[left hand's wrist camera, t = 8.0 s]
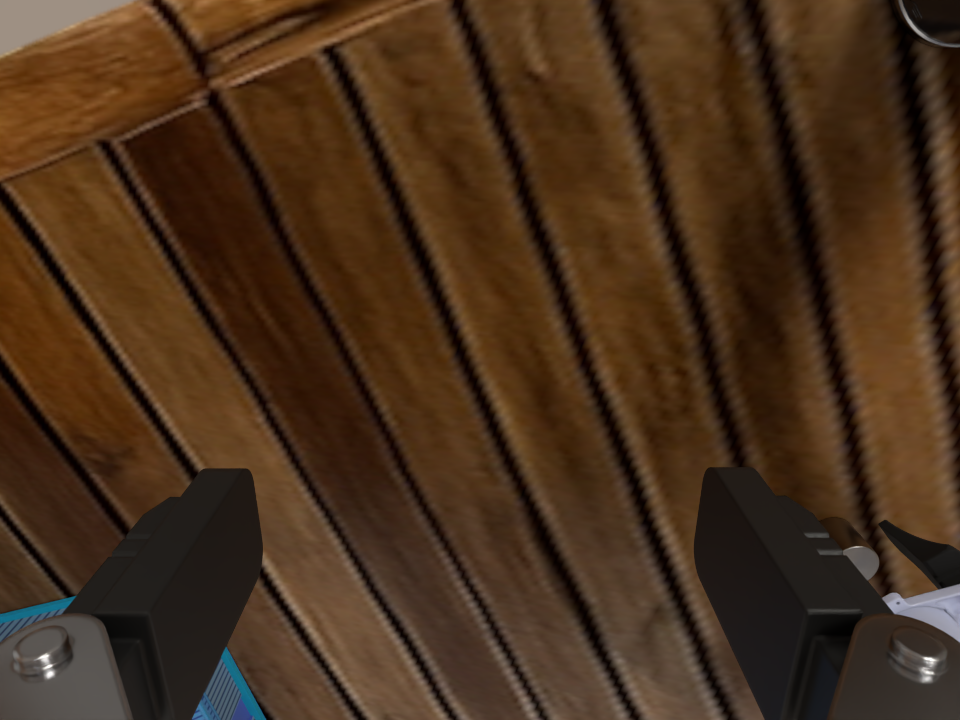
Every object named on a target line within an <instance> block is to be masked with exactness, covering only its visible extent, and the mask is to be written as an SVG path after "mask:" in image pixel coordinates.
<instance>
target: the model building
mask: <svg viewBox="0 0 960 720" xmlns="http://www.w3.org/2000/svg"><path fill="white" fill-rule="evenodd" d="M75 597H76V596H74V597H70V598H65V599H61V600H57V601H53V602H49V603H45V604H41V605H36V606H32V607H28V608H24V609H20V610H16V611H12V612H7V613H3V614H0V642H1V641H3V640H4V639H5V638H7V637H8V636H10V635H11V634H13V633H15V632H16V631H18V630H20V629H22V628H24V627H25V626H27V625H30V624H32V623H34V622H37V621H39V620H42V619H45V618H48V617H52V616H57V615H61V614H62V613H63V612H64V611H65V609H66V608H67V607H68V606H69V604H70V603H71V602H72V601H73V600H74V598H75ZM192 720H266V718H265V716H264V715H263V713H262V711H261V709H260V707H259V706H258V704H257V702H256V700H255V698H254V696H253V695H252V693H251V691H250V689H249V687H248V685H247V684H246V682H245V680H244V678H243V676H242V674H241V673H240V671H239V669H238V667H237V665H236V664H235V662H234V660H233V658H232V656H231V654H230V653H229V651H228V649H227V647H226V648H225V650H224V652H223V654H222V656H221V658H220V660H219V662H218V665H217V667H216V669H215V671H214V673H213V675H212V677H211V679H210V682H209V684H208V686H207V688H206V690H205V692H204V694H203V696H202V699H201V701H200V703H199V705H198V707H197V709H196V711H195V714H194V716H193V718H192Z"/></svg>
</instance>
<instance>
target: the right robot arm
mask: <svg viewBox="0 0 960 720" xmlns="http://www.w3.org/2000/svg"><path fill="white" fill-rule="evenodd" d="M879 526H880V527H881V529H882V530H883V531H884V533H885V534H886V535H887V537H888V538H889V539H890V541H891V542H892V543H893V544H894V545H895V546H896V547H897V548H898V549H899V550H900V551H901V552H902V553H903V554H904V555H905V556H906V557H907V558H908V559H909V560H911V561H912V562H913V563H914V564H915V565H916V566H917V567H918V568H919V569H920V570H921V571H922V572H923V573H924V574H925V575H926V576H927V577H928V578H929V579H930V580H931V582H932V583H933V584H934V585H935V586H936V587H937V588H938V589H939V590H935V591H932V592H928V593H924V594H921V595H917V596H913V597H909V598H906V599H903V598H902V597H901V596H900V595H899V594H898V593H890V594H888V595H886V596H885V597H883V598H882V599H883V600H884V602H885V603H886V604H887V605H888V607H889V608H890V609H891V610H892V611H893V613H894V614H898V615H903V616H908V617H912V618H915V619H918V620H921V621H923V622H926V623H928V624H930V625H933V626H935V627H936V628H938V629H940V630H942V631H944V632H945V633H947V634H949V635H950V636H952V637H953V638H955V639H956V640H957V641H959V642H960V551H959V550H957V549H956V548H954V547H952V546H950V545H947V544H940V543H935V542H931V541H927V540H924V539H921V538H919V537H916V536H914V535H911V534H909V533H907V532H905V531H903V530H901V529H899V528H898V527H896V526H894V525H893V524H891V523H890V522H888V521H887V520H884V521H882V522H881V523H879Z"/></svg>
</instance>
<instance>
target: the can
mask: <svg viewBox="0 0 960 720" xmlns="http://www.w3.org/2000/svg"><path fill="white" fill-rule="evenodd" d="M820 523H821V524H822V526H823V527H824V528H825V529H826V531H827V532H828V533H829V537H830V538H833V539H834V540H835V542H836V543H837V544H838V545H839V547H840V548H841V549H842V550H843V555H847V556H848V558H849V559H850V560H851V561H852V562H853V564H854V565H855V566H856V567H857V569H858V570H859V571H860V572H861V573H862V575H863V576H864V577H865V578H866V580H869V579H870V578H871V577H872V576H873V575H874V574H875V573H876V571H877V569H878V566H879V558H878V555H877V554H876V553H875V551H874V550H873V549H872V548H871V547H870V546H869V545H868V543H867V542H866V541H865V540H864V539H863V538H862V537H861V536H860V534H859V533H858V532H857V531H856V530H855V529H854V528H853V526H852V525H851V524H850V523H849V522H848V521H846V520H844V519H841V518H835V517H834V518H827V519H824V520H822V521H820Z"/></svg>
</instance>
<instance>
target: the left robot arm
mask: <svg viewBox="0 0 960 720" xmlns="http://www.w3.org/2000/svg"><path fill="white" fill-rule="evenodd" d="M891 4H892V7H893V10H894V13H895V15H896V17H897V19H898V21H899V23H900V24H901V26H902V27H903V28H904V29H905V31H906V32H907V33H908V34H909V35H911V36H912V37H913V38H915V39H916V40H918V41H920V42H921V43H924V44H926V45H929V46H932V47H937V48H959V47H960V0H891ZM262 556H263V543H262V535H261V528H260V522H259V515H258V508H257V501H256V494H255V487H254V481H253V477H252V474H251V472H250V471H249V470H248V469H203V470H201V471H200V472H199V473H198V475H197V476H196V477H195V479H194V480H193V481H192V483H191V484H190V485H189V486H188V488H187V489H186V490H185V492H184V493H183V494H182V496H181V497H169V498H168V499H166V500H165V501H163V502H162V503H160V504H159V505H157V506H156V507H154V508H153V509H151V510H150V511H148V512H147V513H145V514H144V515H143V516H142V517H141V518H140V519H139V521H138V522H137V523H136V524H135V526H134V527H133V528H132V529H131V530H130V532H129V533H128V534H127V538H126V539H123V540H122V541H121V543H120V544H119V545H118V546H117V547H116V549H115V550H114V551H113V552H112V557H108V558H107V560H106V561H105V562H104V563H103V564H102V566H101V567H100V568H99V569H98V570H97V572H96V573H95V574H94V575H93V577H92V578H91V579H90V580H89V581H88V583H87V584H86V585H85V586H84V587H83V589H82V590H81V591H80V592H79V594H78V595H77V596H76V597H75V598H74V600H73V601H72V602H71V603H70V604H69V606H68V607H67V608H66V609H65V611H64V612H63V613H62V614H61V615H57V616H52V617H48V618H45V619H42V620H39V621H37V622H34V623H32V624H30V625H27V626H25V627H24V628H22V629H20V630H18V631H16V632H15V633H13V634H11V635H10V636H8V637H7V638H5V639H4V640H3V641H1V642H0V720H192V718H193V716H194V714H195V711H196V709H197V707H198V705H199V703H200V701H201V699H202V696H203V694H204V692H205V690H206V688H207V686H208V684H209V682H210V679H211V677H212V675H213V673H214V671H215V669H216V667H217V665H218V662H219V660H220V658H221V656H222V654H223V652H224V650H225V648H226V645H227V643H228V641H229V639H230V637H231V635H232V633H233V631H234V628H235V626H236V624H237V622H238V620H239V618H240V616H241V614H242V611H243V609H244V607H245V605H246V603H247V601H248V599H249V596H250V594H251V592H252V590H253V588H254V586H255V584H256V582H257V579H258V577H259V574H260V570H261V565H262ZM694 558H695V565H696V569H697V573H698V576H699V579H700V581H701V583H702V585H703V587H704V590H705V592H706V594H707V596H708V598H709V600H710V603H711V605H712V607H713V609H714V611H715V613H716V615H717V618H718V620H719V622H720V624H721V626H722V628H723V631H724V633H725V635H726V637H727V639H728V641H729V643H730V646H731V648H732V650H733V652H734V654H735V656H736V659H737V661H738V663H739V665H740V667H741V669H742V671H743V674H744V676H745V678H746V680H747V682H748V684H749V687H750V689H751V691H752V693H753V695H754V697H755V699H756V702H757V704H758V706H759V708H760V710H761V712H762V715H763V717H764V719H765V720H960V642H959V641H957V640H956V639H955V638H953V637H952V636H950V635H949V634H947V633H945V632H944V631H942V630H940V629H938V628H936V627H935V626H933V625H930V624H928V623H926V622H923V621H921V620H918V619H915V618H912V617H908V616H903V615H898V614H894V613H893V611H892V610H891V609H890V608H889V607H888V605H887V604H886V603H885V602H884V600H883V599H882V598H881V597H880V596H879V594H878V593H877V592H876V591H875V589H874V588H873V587H872V586H871V584H870V583H869V582H868V581H867V580H866V578H865V577H864V576H863V575H862V573H861V572H860V571H859V570H858V569H857V567H856V566H855V565H854V564H853V562H852V561H851V560H850V559H849V558H848V556H847V555H843V550H842V549H841V548H840V547H839V545H838V544H837V543H836V542H835V540H834V539H833V538H830V537H829V533H828V532H827V531H826V529H825V528H824V527H823V526H822V524H821V523H820V522H819V521H818V520H817V518H816V517H815V516H814V515H813V513H811V512H810V511H808V510H807V509H805V508H804V507H802V506H801V505H799V504H798V503H796V502H795V501H793V500H792V499H790V498H789V497H787V496H775V494H774V493H773V492H772V490H771V489H770V488H769V487H768V485H767V484H766V483H765V481H764V480H763V479H762V477H761V476H760V475H759V473H758V472H757V471H756V470H755V469H754V468H751V467H710V468H708V469H707V470H706V472H705V474H704V478H703V483H702V490H701V497H700V504H699V511H698V518H697V525H696V532H695V539H694Z"/></svg>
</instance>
